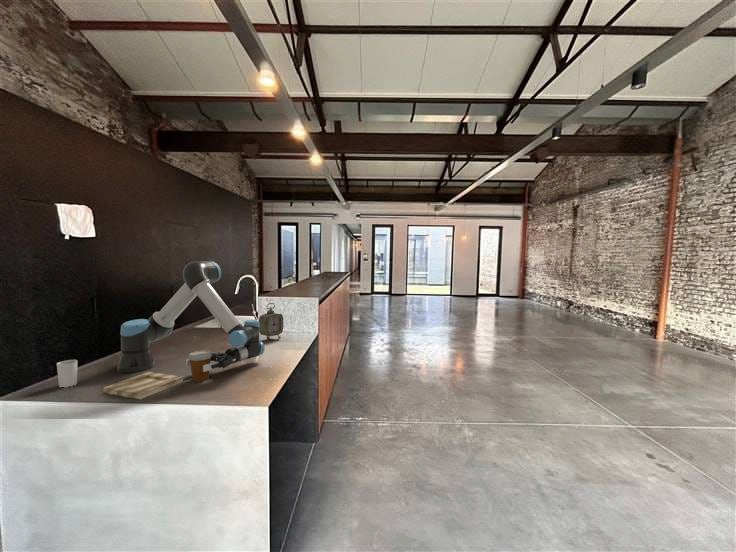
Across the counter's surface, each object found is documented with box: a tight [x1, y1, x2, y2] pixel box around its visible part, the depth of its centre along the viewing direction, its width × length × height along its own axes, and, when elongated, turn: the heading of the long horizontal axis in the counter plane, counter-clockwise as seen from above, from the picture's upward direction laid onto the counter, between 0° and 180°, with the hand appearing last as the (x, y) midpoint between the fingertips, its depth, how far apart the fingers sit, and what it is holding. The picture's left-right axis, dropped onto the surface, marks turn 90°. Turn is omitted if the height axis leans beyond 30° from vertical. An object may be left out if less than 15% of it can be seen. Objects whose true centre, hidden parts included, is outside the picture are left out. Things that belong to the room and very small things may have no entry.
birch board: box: [103, 371, 184, 400], centre depth 144 cm, size 20×20×2 cm
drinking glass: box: [56, 359, 78, 388], centre depth 145 cm, size 7×7×10 cm
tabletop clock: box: [258, 302, 284, 343], centre depth 227 cm, size 14×9×25 cm, turn 147°
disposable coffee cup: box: [188, 350, 213, 383], centre depth 153 cm, size 10×10×12 cm
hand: (194, 365), depth 151 cm, fingers open, 13 cm apart
